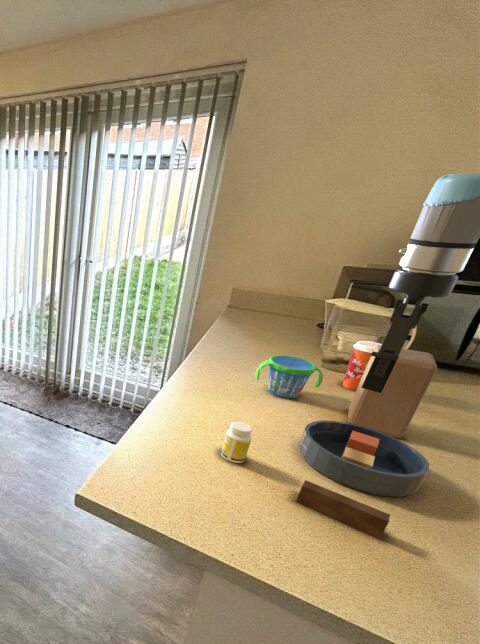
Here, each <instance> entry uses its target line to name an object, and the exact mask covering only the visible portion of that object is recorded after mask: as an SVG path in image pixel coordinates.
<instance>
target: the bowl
mask: <svg viewBox="0 0 480 644" xmlns="http://www.w3.org/2000/svg"><path fill="white" fill-rule="evenodd" d="M352 431H356V432H359V433H362V434H365V435H368V436H372V437H375V438H378V439H380V440H379V444H378V448H377V450H376V452H375V454H374V456H375V459H374V463H373V466H372V468H371V469H370V468H366V467H363V466H360V465H357V464H354V463H352V462H349V461H347V460H344V459H342V456H343V452H344V450H345V447H346V445H347V442H348V440H349V438H350V436H351V433H352ZM297 447H298V448H297V450H298V453H299V454H300V455H301V457H302V459H303V460H304V462H305V463H307V464H308V465H309V467H311V468H313V469H314V470H316V471H317V472H318V473H320V474H321V475H323V476H325V478H326V477H327V478H328V479H330V480H333V481H334V482H335V483H339V484H341V485H343V486H346V487H348V488H351V489H354V490H357V491H359V492H363V493H367V494H372V495H375V496H380V497H391V498H392V497H393V498H394V497H395V498H397V497H398V498H399V497H406V496H410V495H414V494H415V493H416V492H418V491H419V490H420V489H421V487H422V485H423V483H424V481H425V479H426V478H427V476H428V474H429V472H430V468H431V465H430V463H429V461H428V459H427V458H426V457H425V456H424V455H423V454H422V453H421V452H419V451H418V450H417V449H415V448H413V447H412V446H410V445H409V444H407V443H406V442H404V441H402V440H399V438H396V437H392V436H389V435H387V434H384V433H382V432H379V431H377V430H373V429H370V428H367V427H363V426H360V425H356V424H351V423H349V422H347V421H346V422H345V421H338V420H322V419H321V420H316V421H312V422H309V423H307V424H306V426H305V427H304V429H303V432H302V434H301V436H300V439H299V442H298V445H297Z"/></svg>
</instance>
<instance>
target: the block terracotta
mask: <svg viewBox="0 0 480 644" xmlns="http://www.w3.org/2000/svg"><path fill="white" fill-rule="evenodd" d="M379 440H380V439H378V438H375V437H372V436H368V435H365V434H362V433H359V432H356V431H352V433H351V436H350V438H349V440H348V442H347V445H346V447H348V448H351V449H354V450H357V451H360V452H363V453H366V454H369V455H372V456H374V454H375V452H376V450H377V448H378V444H379ZM346 447H345V449H346ZM344 451H345V450H344ZM343 454H344V452H343Z"/></svg>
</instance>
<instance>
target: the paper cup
mask: <svg viewBox="0 0 480 644" xmlns="http://www.w3.org/2000/svg"><path fill="white" fill-rule="evenodd" d="M382 344H383V343H380V342H376V341H368V340H358V341H357V342H355V344H353V345H352V347H353V349H352V353H351V356H350V359H349V361H348V365H347V368H346V372H345V374H344V378H343V382H342V386H343V387H344V388H346V389H349V390H351V391H355V392H356V390H357V388H358V385H359V383H360V381H361V378H362V376H363V374H364V371H365V369H366V367H367V364H368V362H369V360H370V357H371V354H372V352H373V350H374V348H375V347H376V346H377V345H382Z"/></svg>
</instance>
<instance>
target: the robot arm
mask: <svg viewBox="0 0 480 644" xmlns="http://www.w3.org/2000/svg"><path fill="white" fill-rule="evenodd" d="M479 239H480V173H448V174H445V175H442V176H441V177H439V178H438V179H437V180H436V181H435V182H434V185H433V186H432V188H431V189H430V191H429V193H428V196H427V197H426V199H425V201H424V202H423V207H422V209H421V211H420V213H419V216H418V219H417V222H416V224H415V227H414V228H413V231H412V234H411V236H410V237H409V240H408V243H407V245H406V247H407V248H406V247H403V248H400V249H399V250H398V253H399V254H401V255H402V256H401V258H400V260H399V262H398V265H399V266H400V268H398V269H396V270H395V271H394V273H393V275H392V278H391V280H390V282H389V285H388V288H389V289H390V290H391V291H393V292H396V293H399V294H401V293H402V294H405V297H404V299H399V298H398V299H397V300H396V301H395V303H394V305H393V308H392V314H391V316H390V319H389V321H388V325H389V328H388V331H387V333H386V335H385V337H384V340H383V342H382V343H381V344H382V346H381V348H380V350H379V351H378V352H374V351H373V352H372V354H371V356H374V357H375V359H374V361H373V363H372V365H371V367H370V370H369V372H368V374H367V376H366V378H365V381H364V383H363V385H362V387H361V388H364V389H367V390H371V391H375V392H378V393H382V390H383V388H384V386H385V384H386V382H387V380H388V378H389V376H390V374H391V372H392V370H393V368H394V366H395V364H396V362H397V360H398V358H399V354H400V351H401V349H403V347H404V345H405V343H406V341H408V342H410V341H411V339H412V337H413V335H410V332H411V331H412V330H414V329H416V328H417V326H418V324H419V321H420V320H421V318H422V317H424V315H425V314H426V312H427V310H428V307H429V303H426V302H424V300H425V298H427V297H431V298H446V297H449V296H450V295H451V294H452V292H453V290H454V288H455V286H456V284H457V283H458V280H459V276H458V274H459V273H461V272H463V271H464V270H465V267H466V265H467V264H468V262H469V260H470V257H471V255H472V253H473V251H474V250H475V246H476V245H477V243H478V241H479ZM457 273H458V274H457Z"/></svg>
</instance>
